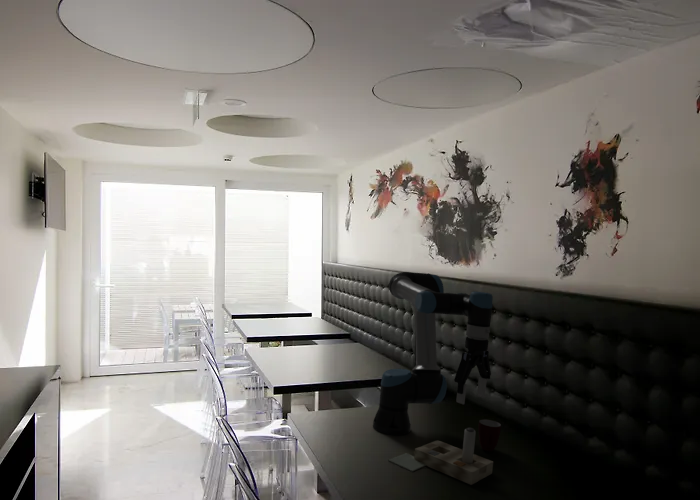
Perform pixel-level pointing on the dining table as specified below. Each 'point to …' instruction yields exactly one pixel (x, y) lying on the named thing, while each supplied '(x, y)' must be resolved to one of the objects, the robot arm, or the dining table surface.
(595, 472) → the dining table surface
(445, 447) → the socket block
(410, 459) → the pad
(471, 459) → the plug
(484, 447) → the mug
